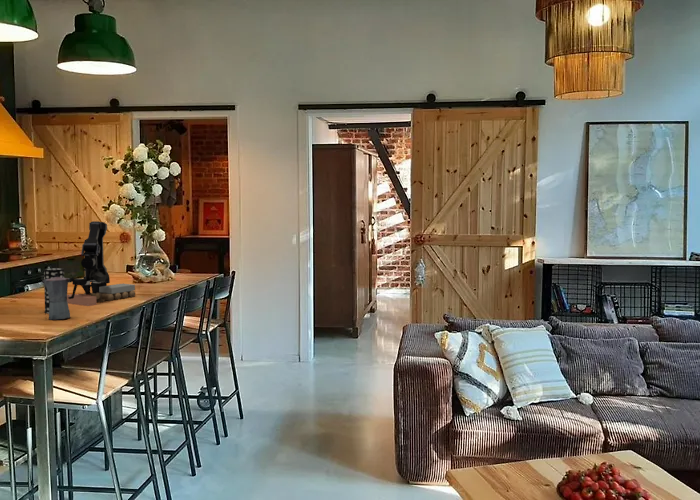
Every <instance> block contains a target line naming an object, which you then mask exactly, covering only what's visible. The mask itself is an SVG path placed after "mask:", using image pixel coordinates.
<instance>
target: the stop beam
mask: <svg viewBox="0 0 700 500" xmlns="http://www.w3.org/2000/svg"><path fill="white" fill-rule="evenodd" d="M72 294H73V293H71V294H67V303H68V305H69V304H71V305H78V306H83V307H84V306H86V307H90V306H96V305H97V304H98V303H97V301H96V297H95V296H91V295H86V294H84V293H75V295H74V298H73V299H68V297H71V296H72Z"/></svg>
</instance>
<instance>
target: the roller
mask: <svg viewBox="0 0 700 500" xmlns="http://www.w3.org/2000/svg"><path fill="white" fill-rule="evenodd" d="M83 294H86V293H85V292H84V293H83ZM90 295H91V296H95V297H96V300H97V299H99V297H100V296H99V294H97V293H92V292H90Z"/></svg>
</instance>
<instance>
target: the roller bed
mask: <svg viewBox="0 0 700 500" xmlns="http://www.w3.org/2000/svg"><path fill="white" fill-rule="evenodd" d="M97 294H99V296H100V297H99V299H97V300H96V303H97V302H98V303H99V302H100V303H105V301H107V302H113V300H116V299H117V301H119V300H120V299H127V298H134V297H135V296H136V290H134V291H127V292H121V293H114V294H108V293H97ZM118 299H119V300H118Z"/></svg>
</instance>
